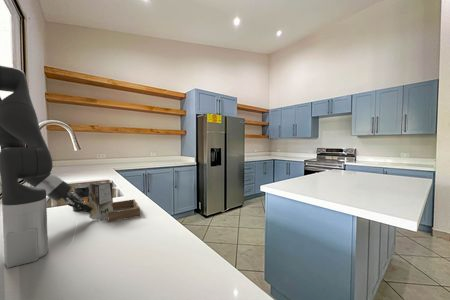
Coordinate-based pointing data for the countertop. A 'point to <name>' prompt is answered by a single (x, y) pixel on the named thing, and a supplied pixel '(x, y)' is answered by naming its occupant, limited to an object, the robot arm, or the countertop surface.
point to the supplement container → (82, 194)
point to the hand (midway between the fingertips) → (90, 210)
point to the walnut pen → (124, 213)
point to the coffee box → (100, 199)
